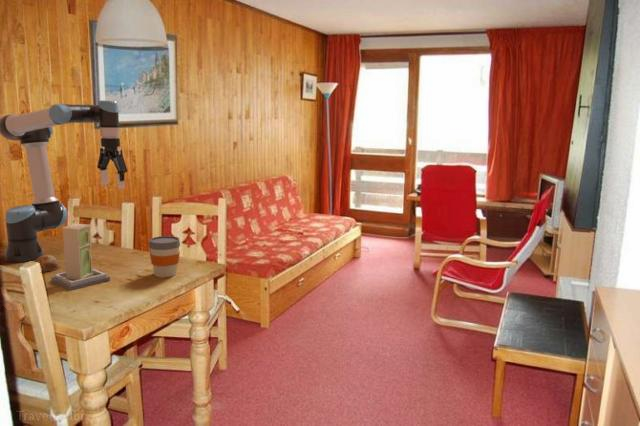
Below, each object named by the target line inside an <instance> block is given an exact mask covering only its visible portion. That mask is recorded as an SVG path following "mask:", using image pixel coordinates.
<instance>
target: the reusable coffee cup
mask: <svg viewBox="0 0 640 426" xmlns="http://www.w3.org/2000/svg"><path fill="white" fill-rule="evenodd" d="M148 240H149V241H148V242H149V243H148V248H149V250H150V253H149V257H150V262H151V263H150V264H151V265H152V267H153V271H154V272H153V273H154V276H155V277H156V278H157V277H159V278H169V277H174V276H175V275H177V274H178V264H179V261H180V252H181V251H180V246H181V243H180V242H181V241H180V238H179V236H178V237H177V236H172V235H163V236H162V235H161V236H155V237H151V238H150V239H148Z"/></svg>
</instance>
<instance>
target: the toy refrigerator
mask: <svg viewBox="0 0 640 426" xmlns="http://www.w3.org/2000/svg"><path fill="white" fill-rule="evenodd" d="M61 231H62V240H63V252H64V265H65V266H64V267H65V268H64V269H65V272H66V278H67V279H72V280H80V279H84V278H87V277H89V276H91V275H93V269H94V268H93V267H94V266H93V257H92V256H93V255H92V254H93V253H92V238H91V225H90V224H86V223H74V224H70V225H67V226H63V227H62V230H61Z"/></svg>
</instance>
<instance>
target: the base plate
mask: <svg viewBox="0 0 640 426" xmlns="http://www.w3.org/2000/svg"><path fill="white" fill-rule="evenodd" d="M50 279H51V280H50V281H51V282H53V283H54V284H56V285H59V286H60V285H61V286H60V287H63V288H64V289H66V290H68V289H69V290H68V291H72V290H76V289H77V290H78V289H81V288H85V287H89V286H93V285H97V284H100V283H106V282H109V281H111V277H110V276H109V275H107V274H106V273H105V272H102V271H100V270H98V269H96V268H93V275H91V276H89V277H87V278H84V279H80V280H72V279H67V278H66V271H64V272H59V273H55V274H54V276H52V277H50Z"/></svg>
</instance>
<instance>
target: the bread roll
mask: <svg viewBox="0 0 640 426" xmlns="http://www.w3.org/2000/svg"><path fill="white" fill-rule="evenodd" d="M34 261H35V262H39V263H40V265H41V268H42V272H41V273H49V272H52V271H57V270H58V269H59V268H60V265H59V260H57V258H56V257H55V256H53V255H50V254H43V256H40V257H39V258H37V259H36V260H34Z"/></svg>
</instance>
